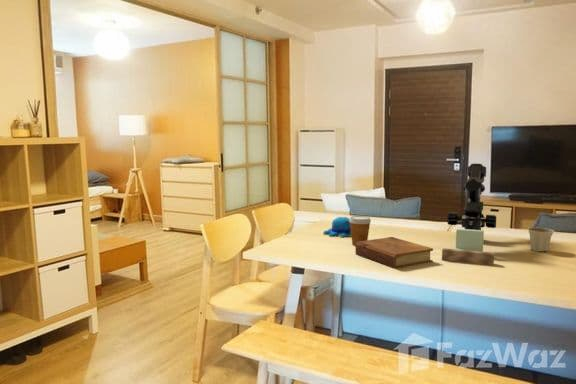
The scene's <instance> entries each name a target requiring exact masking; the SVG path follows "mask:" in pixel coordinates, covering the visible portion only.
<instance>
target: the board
mask: <svg viewBox="0 0 576 384" xmlns="http://www.w3.org/2000/svg"><path fill="white" fill-rule="evenodd" d="M441 261H447V262H459V263H469V264H479V265H488V266H494V265H495V264H494V263H495V262H494V261H495V252H491V251H490V252H489V251H483V252H479V251H468V250H457V249H456V248H454V249H453V248H444V247H443V248H442V249H441Z"/></svg>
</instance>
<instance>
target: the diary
mask: <svg viewBox="0 0 576 384" xmlns="http://www.w3.org/2000/svg"><path fill="white" fill-rule="evenodd" d="M433 251H434V248H433V247H429V246H427V245H422V244H419V243H415V242H413V241H412V242H411V241H408V240H404V239H402V238H397V237H393V236H389V237H383V238H382V237H381V238H375V239H368V240H366V241H359V242H357V243H356V246H355V254H356V255H357V256H359V257H361V258H362V257H363V258H365V259H369V260H371V261H374V262H377V263H379V264H382V265H385V266H387V267H391V268H393V269H400V268H405V267H410V266H416V265H422V264H427V263H433V262H434V261H433V260H432V259H431V252H433Z"/></svg>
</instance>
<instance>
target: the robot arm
mask: <svg viewBox="0 0 576 384" xmlns="http://www.w3.org/2000/svg"><path fill="white" fill-rule="evenodd" d="M466 169H467V171H466V176H467V177H468V178H467V179H466V183H464V186H463V192H465V204H464V207H463V208H464V209H463V214H462V216H458V212H448V213H447V215H446V220H447V221H446V222H447V225H448V226H457V225H458V222H459V223H460V222H461V228H463V229H470V230H482V229H483V228H486V227H487V228H491V229H495V228H497V216H496V215H495V214H485V216H484V213H483V211H484V201H481V195H482V193H484V192H485V191H486V187H485V185H484V184H483V183H484V182H485V178H486V177H487V167H486V166H485V165H483V164H482V163H470V165H469V166H467V167H466Z"/></svg>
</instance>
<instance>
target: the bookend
mask: <svg viewBox="0 0 576 384" xmlns="http://www.w3.org/2000/svg"><path fill="white" fill-rule="evenodd" d="M455 231H456V233H455V235H456V236H455V249H457V250H468V251H479V252H484V238H485V237H484V234H485V230H483V229H481V230H470V229H465V228H456V229H455Z"/></svg>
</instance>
